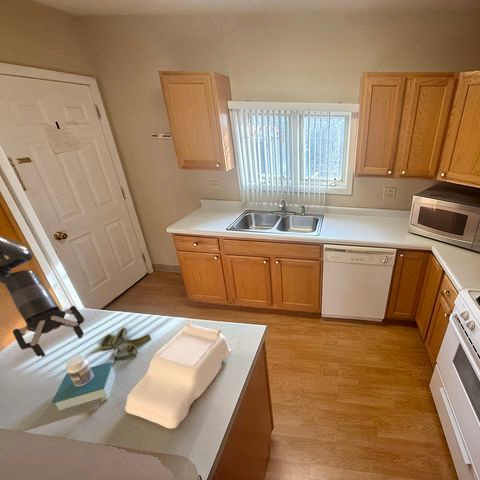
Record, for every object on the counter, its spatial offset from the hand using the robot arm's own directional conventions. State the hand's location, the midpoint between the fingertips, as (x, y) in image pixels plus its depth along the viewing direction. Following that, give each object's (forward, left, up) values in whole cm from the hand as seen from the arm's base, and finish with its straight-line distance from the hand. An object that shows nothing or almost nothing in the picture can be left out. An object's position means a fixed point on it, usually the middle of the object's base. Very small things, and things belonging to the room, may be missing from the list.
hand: (63, 346), depth 77 cm
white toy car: (+31, -11, -17) cm, 37 cm away
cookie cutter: (+9, +14, -17) cm, 24 cm away
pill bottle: (+3, -4, -11) cm, 13 cm away
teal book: (+3, -4, -17) cm, 18 cm away
